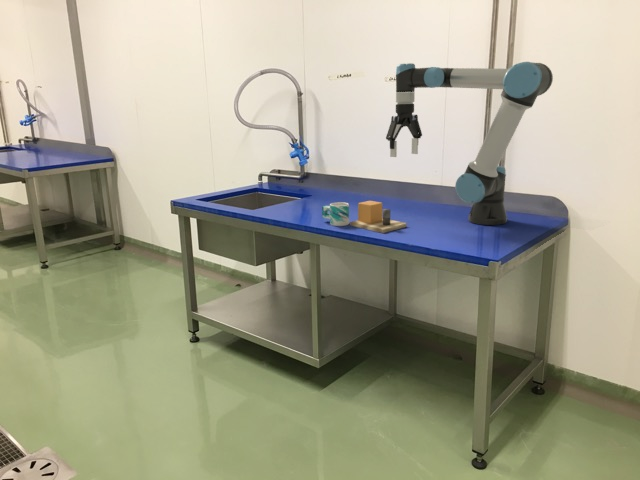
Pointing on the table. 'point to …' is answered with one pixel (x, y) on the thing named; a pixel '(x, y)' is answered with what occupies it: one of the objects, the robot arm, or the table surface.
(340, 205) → the mug
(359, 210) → the wooden block
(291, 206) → the table surface
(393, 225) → the board
